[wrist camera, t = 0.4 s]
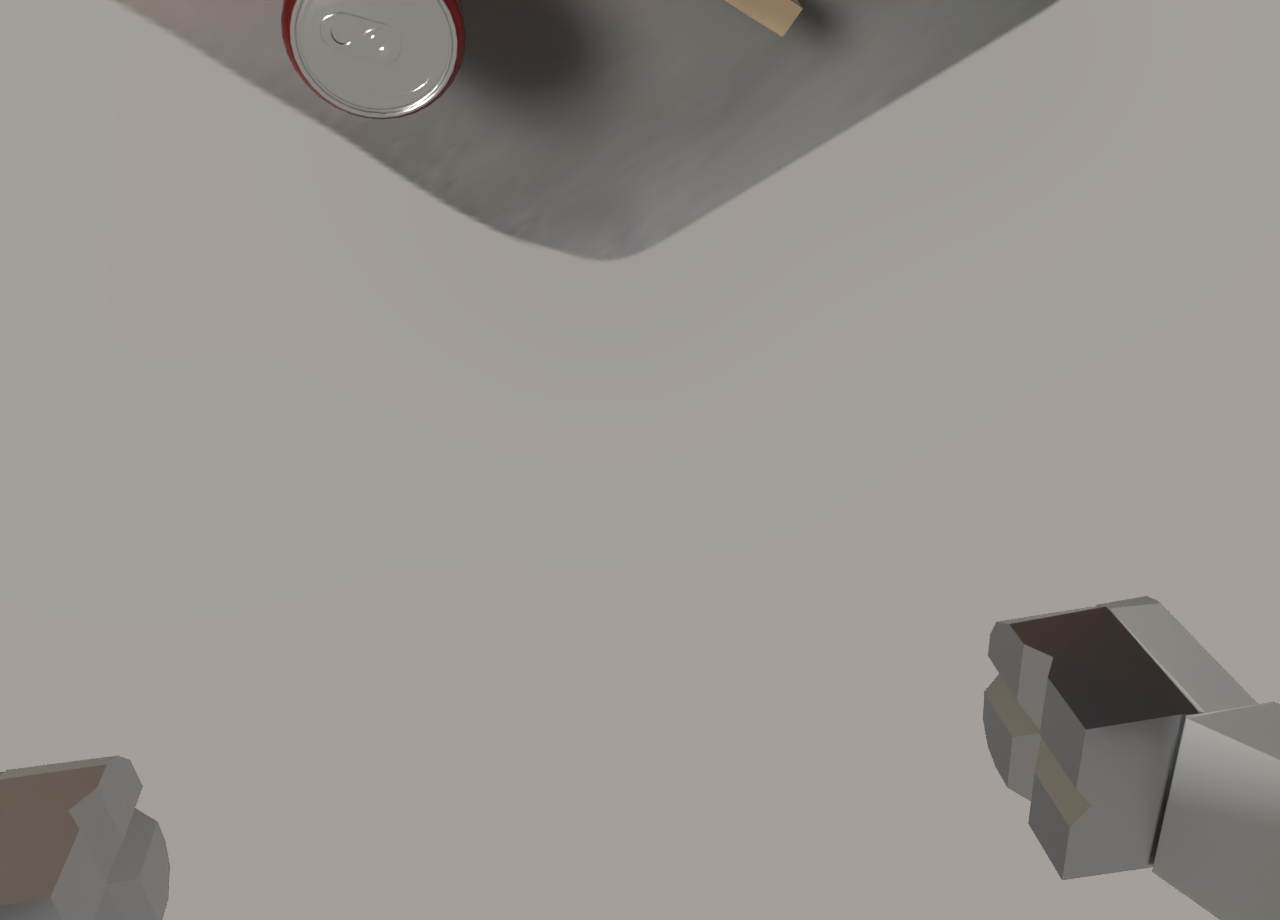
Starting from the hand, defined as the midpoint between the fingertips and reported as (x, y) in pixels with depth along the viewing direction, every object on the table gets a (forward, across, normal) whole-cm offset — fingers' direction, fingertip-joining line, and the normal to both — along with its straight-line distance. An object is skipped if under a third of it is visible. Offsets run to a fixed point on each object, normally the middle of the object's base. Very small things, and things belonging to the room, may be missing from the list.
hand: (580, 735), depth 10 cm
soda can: (+51, +5, -6) cm, 51 cm away
